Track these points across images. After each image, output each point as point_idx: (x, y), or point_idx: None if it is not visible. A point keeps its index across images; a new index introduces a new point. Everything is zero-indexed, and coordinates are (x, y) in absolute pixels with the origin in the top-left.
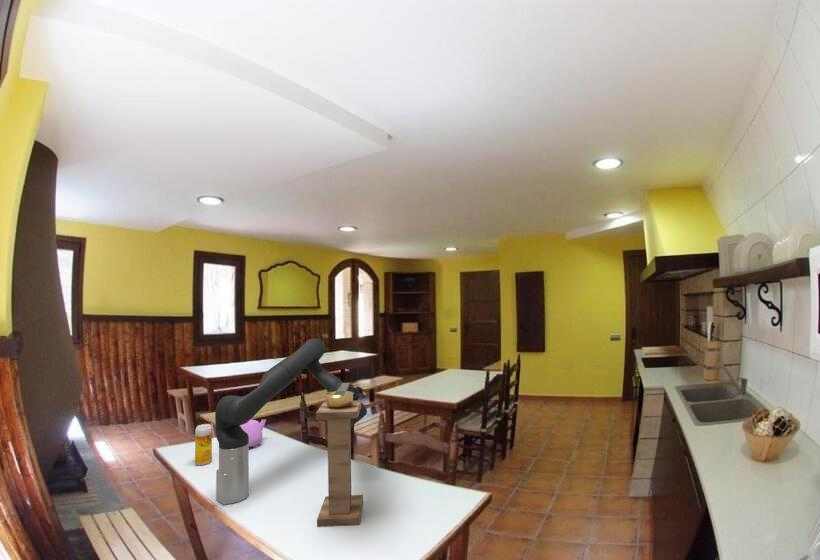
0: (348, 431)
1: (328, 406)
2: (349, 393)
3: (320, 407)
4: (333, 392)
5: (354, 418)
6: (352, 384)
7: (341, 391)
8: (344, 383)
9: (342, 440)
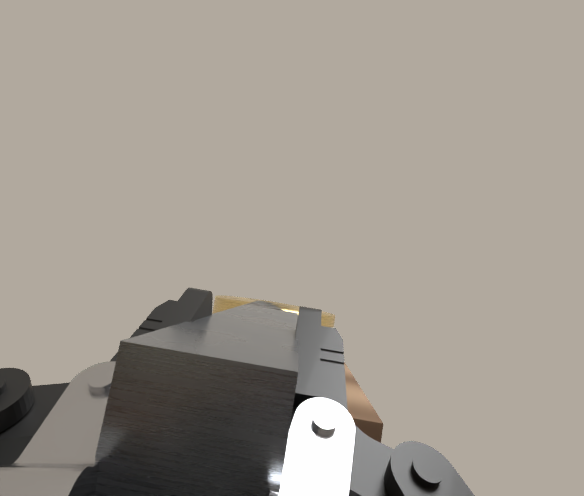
0: None
1: None
2: (231, 297)
3: (351, 377)
4: None
5: None
6: (165, 302)
7: (269, 307)
8: (247, 349)
9: None
